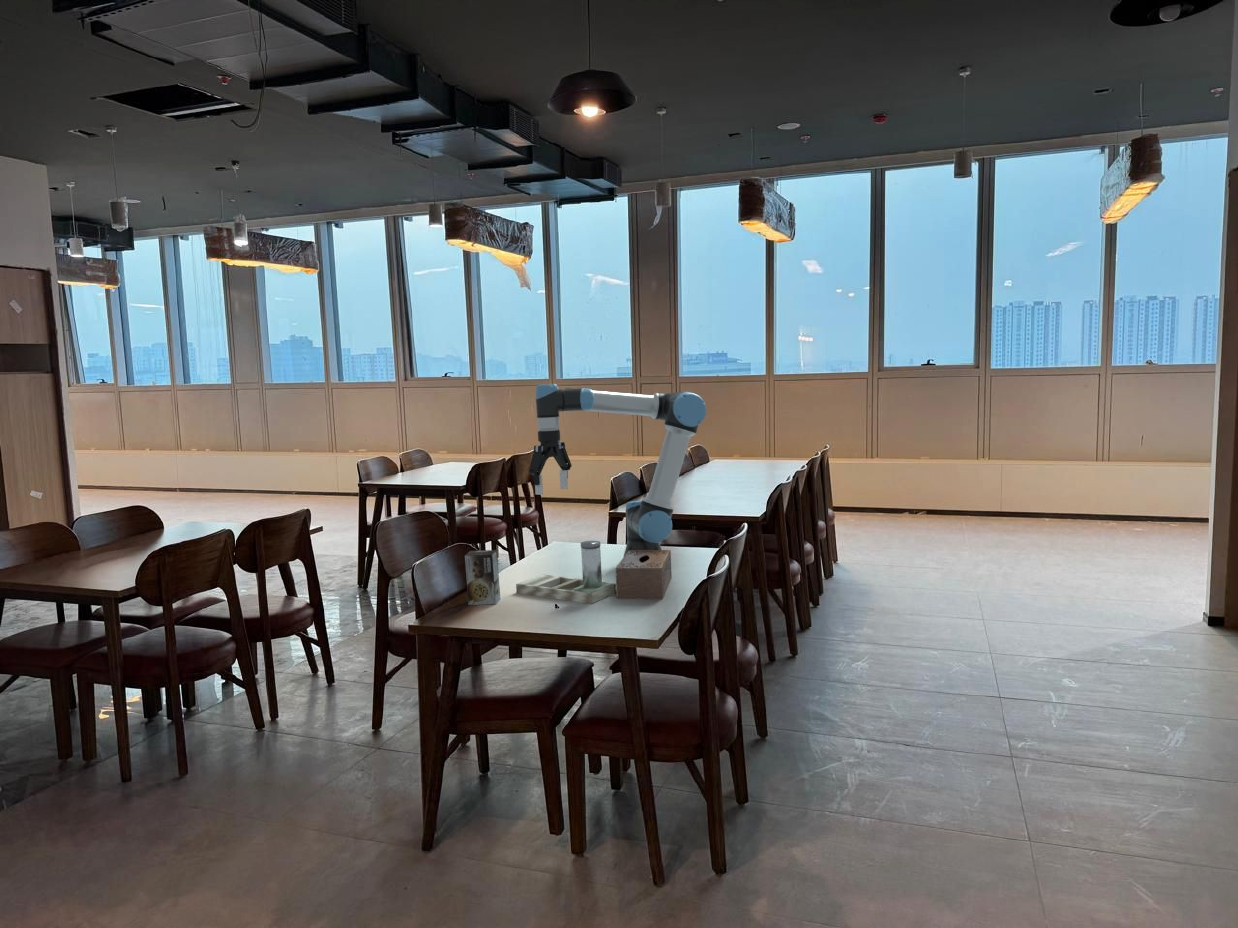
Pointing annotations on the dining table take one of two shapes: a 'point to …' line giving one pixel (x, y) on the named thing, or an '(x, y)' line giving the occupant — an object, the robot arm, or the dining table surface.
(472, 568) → the coffee box
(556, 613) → the dining table surface
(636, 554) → the tissue box cover
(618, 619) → the dining table surface
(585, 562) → the canister
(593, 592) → the board
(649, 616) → the dining table surface
